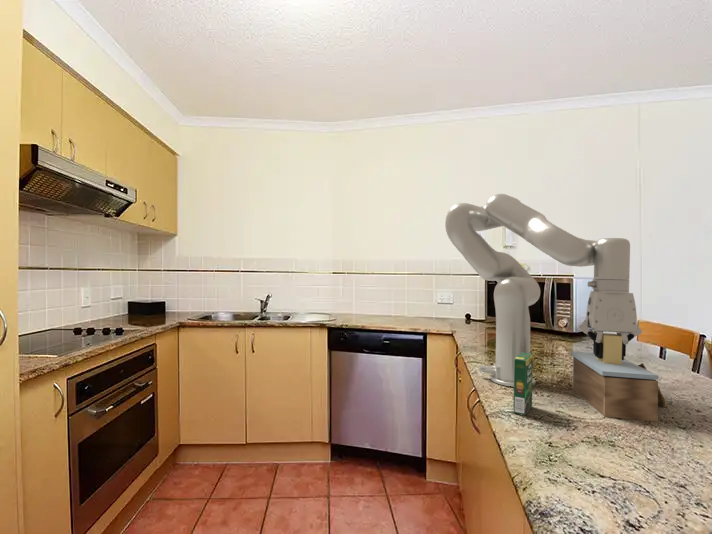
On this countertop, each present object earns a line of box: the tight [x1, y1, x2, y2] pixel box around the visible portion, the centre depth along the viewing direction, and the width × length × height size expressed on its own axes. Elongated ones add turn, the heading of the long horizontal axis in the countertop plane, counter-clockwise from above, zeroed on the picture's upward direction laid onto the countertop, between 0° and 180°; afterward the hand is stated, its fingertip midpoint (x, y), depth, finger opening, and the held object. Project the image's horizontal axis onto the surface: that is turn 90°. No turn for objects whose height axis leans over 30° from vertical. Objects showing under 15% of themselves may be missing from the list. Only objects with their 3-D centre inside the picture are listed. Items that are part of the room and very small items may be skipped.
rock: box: [637, 363, 669, 409], centre depth 98 cm, size 11×9×10 cm
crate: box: [572, 356, 659, 422], centre depth 94 cm, size 11×21×9 cm, turn 167°
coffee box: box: [513, 352, 534, 416], centre depth 88 cm, size 8×3×13 cm, turn 144°
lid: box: [569, 332, 659, 381], centre depth 94 cm, size 11×21×8 cm, turn 167°
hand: (609, 357), depth 94 cm, fingers closed on lid, 4 cm apart
